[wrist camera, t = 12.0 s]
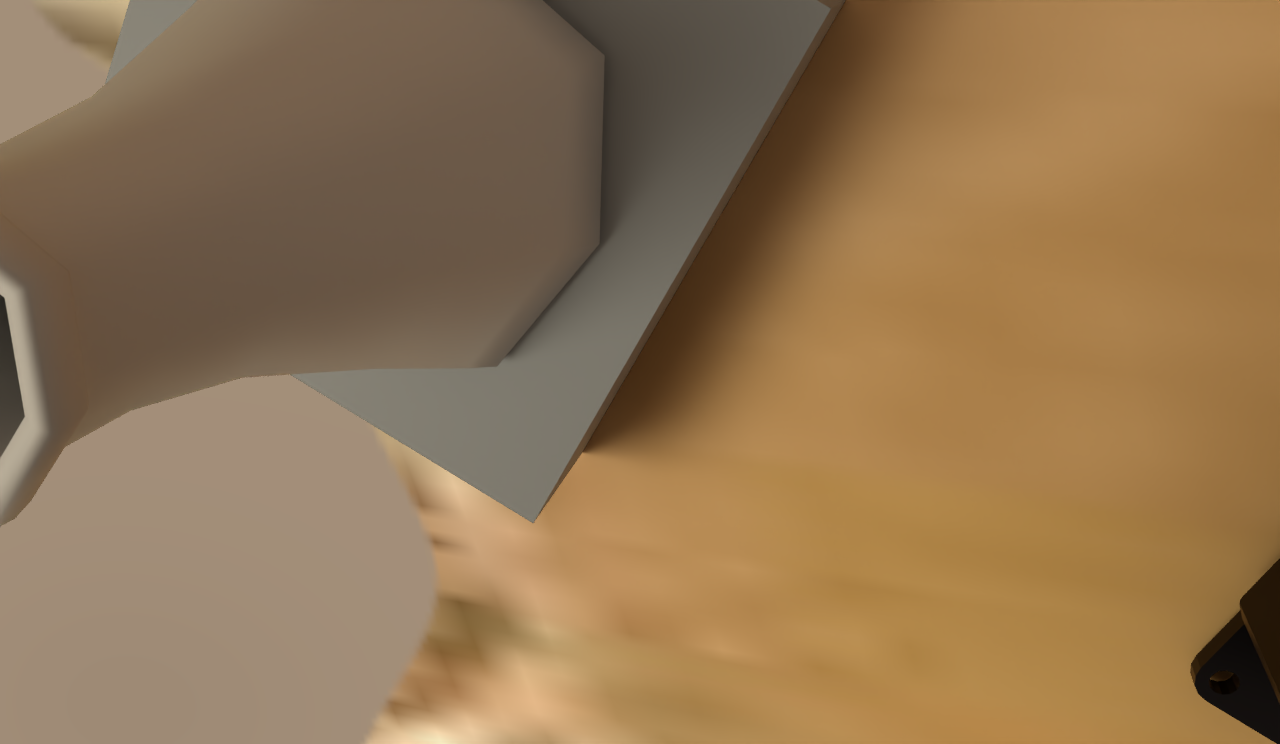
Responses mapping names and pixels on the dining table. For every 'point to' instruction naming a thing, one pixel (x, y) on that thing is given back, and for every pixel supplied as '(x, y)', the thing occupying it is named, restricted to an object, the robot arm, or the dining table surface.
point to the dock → (629, 232)
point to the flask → (292, 207)
